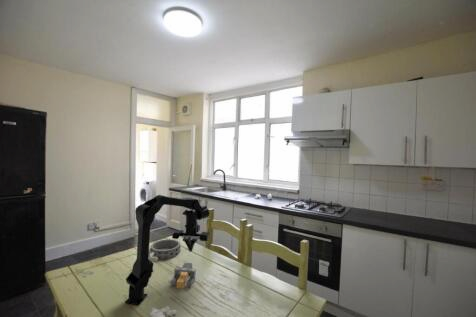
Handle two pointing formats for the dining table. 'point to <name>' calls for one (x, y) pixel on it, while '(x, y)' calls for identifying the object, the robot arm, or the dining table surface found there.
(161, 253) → the grey round bowl
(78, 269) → the dining table surface
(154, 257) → the pipe connector
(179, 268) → the frame
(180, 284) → the plug
